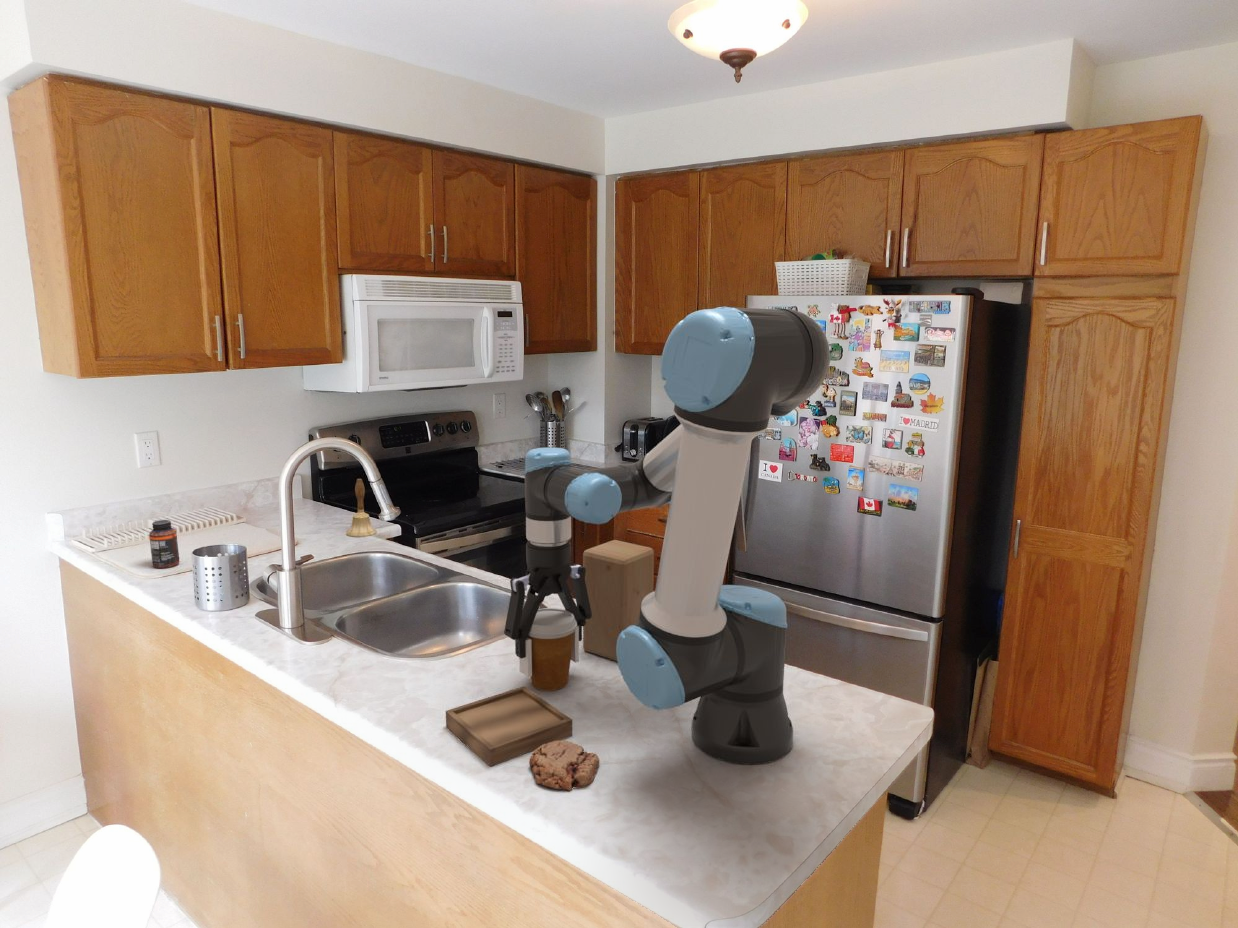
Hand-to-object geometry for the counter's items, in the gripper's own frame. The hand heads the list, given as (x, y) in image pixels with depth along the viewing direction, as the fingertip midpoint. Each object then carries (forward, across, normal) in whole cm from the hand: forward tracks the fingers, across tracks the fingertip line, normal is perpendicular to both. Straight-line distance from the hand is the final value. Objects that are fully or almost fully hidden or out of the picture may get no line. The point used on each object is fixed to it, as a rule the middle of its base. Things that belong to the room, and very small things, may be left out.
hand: (549, 666), depth 140 cm
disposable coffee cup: (+3, 0, 0) cm, 3 cm away
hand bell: (+3, -9, -112) cm, 113 cm away
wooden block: (+3, -18, -4) cm, 19 cm away
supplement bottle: (+3, +41, -112) cm, 119 cm away
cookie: (+4, +13, +24) cm, 28 cm away
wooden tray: (+3, +14, +10) cm, 17 cm away
